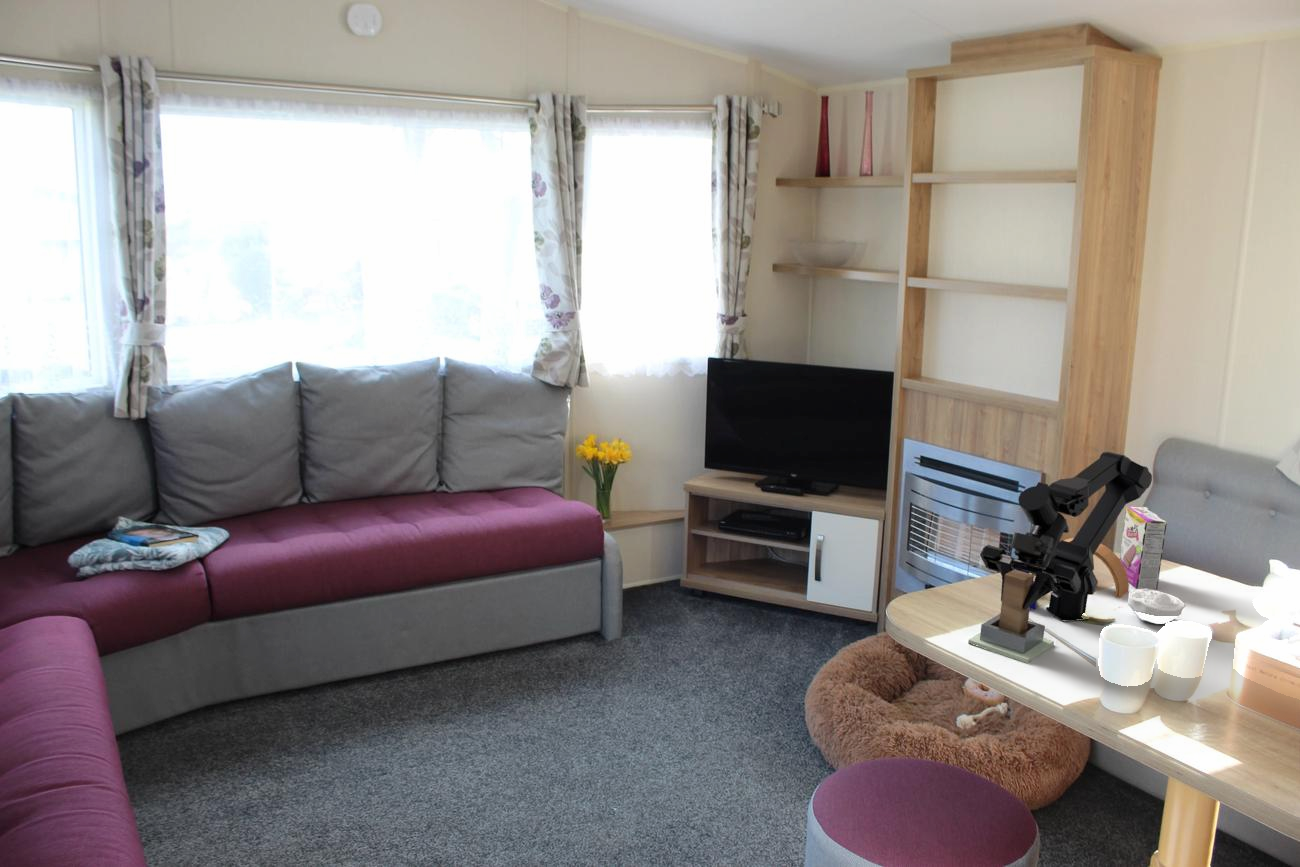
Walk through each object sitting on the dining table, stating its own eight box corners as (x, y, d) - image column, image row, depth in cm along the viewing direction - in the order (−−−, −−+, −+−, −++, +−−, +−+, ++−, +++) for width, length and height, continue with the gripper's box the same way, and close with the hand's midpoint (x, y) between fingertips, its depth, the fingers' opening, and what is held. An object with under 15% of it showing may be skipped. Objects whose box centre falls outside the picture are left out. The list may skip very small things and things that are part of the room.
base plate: (995, 626, 223) (996, 622, 223) (1053, 645, 215) (1054, 641, 215) (968, 643, 214) (968, 639, 214) (1027, 663, 206) (1027, 659, 206)
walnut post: (1007, 629, 217) (1014, 569, 214) (1026, 635, 214) (1033, 575, 211) (997, 634, 214) (1004, 574, 211) (1017, 641, 211) (1024, 580, 208)
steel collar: (1000, 627, 220) (1001, 612, 220) (1043, 640, 215) (1045, 625, 214) (979, 639, 214) (981, 624, 213) (1023, 654, 208) (1025, 638, 207)
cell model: (1160, 609, 235) (1165, 580, 234) (1191, 632, 224) (1196, 601, 222) (1115, 609, 235) (1119, 579, 233) (1143, 632, 223) (1148, 601, 221)
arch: (1041, 568, 258) (1046, 528, 256) (1128, 592, 245) (1134, 549, 243) (1031, 574, 254) (1036, 533, 251) (1119, 599, 241) (1125, 555, 239)
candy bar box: (1115, 572, 257) (1125, 505, 253) (1137, 573, 257) (1147, 506, 253) (1135, 590, 246) (1146, 520, 242) (1158, 591, 246) (1168, 521, 242)
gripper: (989, 505, 218) (957, 571, 212) (1082, 528, 205) (1051, 599, 200) (1002, 535, 225) (972, 599, 220) (1093, 558, 213) (1063, 627, 208)
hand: (1012, 605), depth 212 cm, fingers closed on walnut post, 4 cm apart
